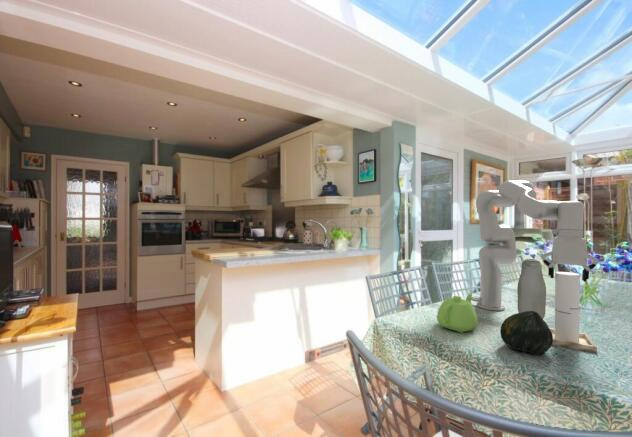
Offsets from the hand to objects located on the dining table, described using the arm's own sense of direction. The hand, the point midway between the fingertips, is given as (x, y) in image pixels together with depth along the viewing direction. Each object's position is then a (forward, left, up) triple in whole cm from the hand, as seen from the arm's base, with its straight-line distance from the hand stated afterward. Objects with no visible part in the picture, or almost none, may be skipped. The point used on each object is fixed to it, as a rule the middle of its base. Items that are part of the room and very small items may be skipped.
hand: (567, 279), depth 116 cm
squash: (-14, -17, -24) cm, 32 cm away
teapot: (-37, -6, -24) cm, 44 cm away
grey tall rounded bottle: (-10, +19, -24) cm, 32 cm away
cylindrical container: (0, 0, -23) cm, 23 cm away
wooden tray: (0, 0, -23) cm, 23 cm away
